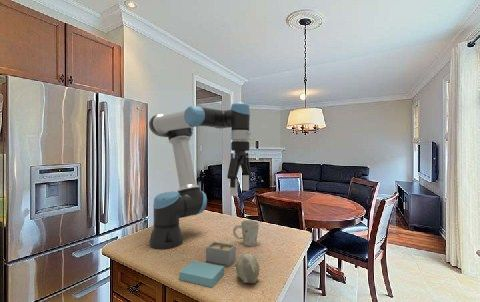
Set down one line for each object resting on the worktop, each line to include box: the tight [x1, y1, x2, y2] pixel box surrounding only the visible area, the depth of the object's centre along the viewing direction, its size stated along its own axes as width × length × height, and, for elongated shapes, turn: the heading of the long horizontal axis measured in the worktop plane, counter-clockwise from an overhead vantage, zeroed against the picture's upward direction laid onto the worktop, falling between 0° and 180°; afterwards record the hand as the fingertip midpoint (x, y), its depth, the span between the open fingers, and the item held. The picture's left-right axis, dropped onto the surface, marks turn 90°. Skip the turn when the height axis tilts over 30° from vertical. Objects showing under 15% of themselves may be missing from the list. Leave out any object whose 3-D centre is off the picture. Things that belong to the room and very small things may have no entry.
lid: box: [178, 260, 225, 288], centre depth 85 cm, size 13×9×3 cm
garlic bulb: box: [235, 253, 260, 284], centre depth 83 cm, size 9×8×10 cm
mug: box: [232, 219, 260, 247], centre depth 116 cm, size 8×13×10 cm, turn 78°
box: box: [205, 241, 237, 268], centre depth 98 cm, size 10×6×6 cm, turn 69°
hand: (239, 193), depth 100 cm, fingers open, 13 cm apart
